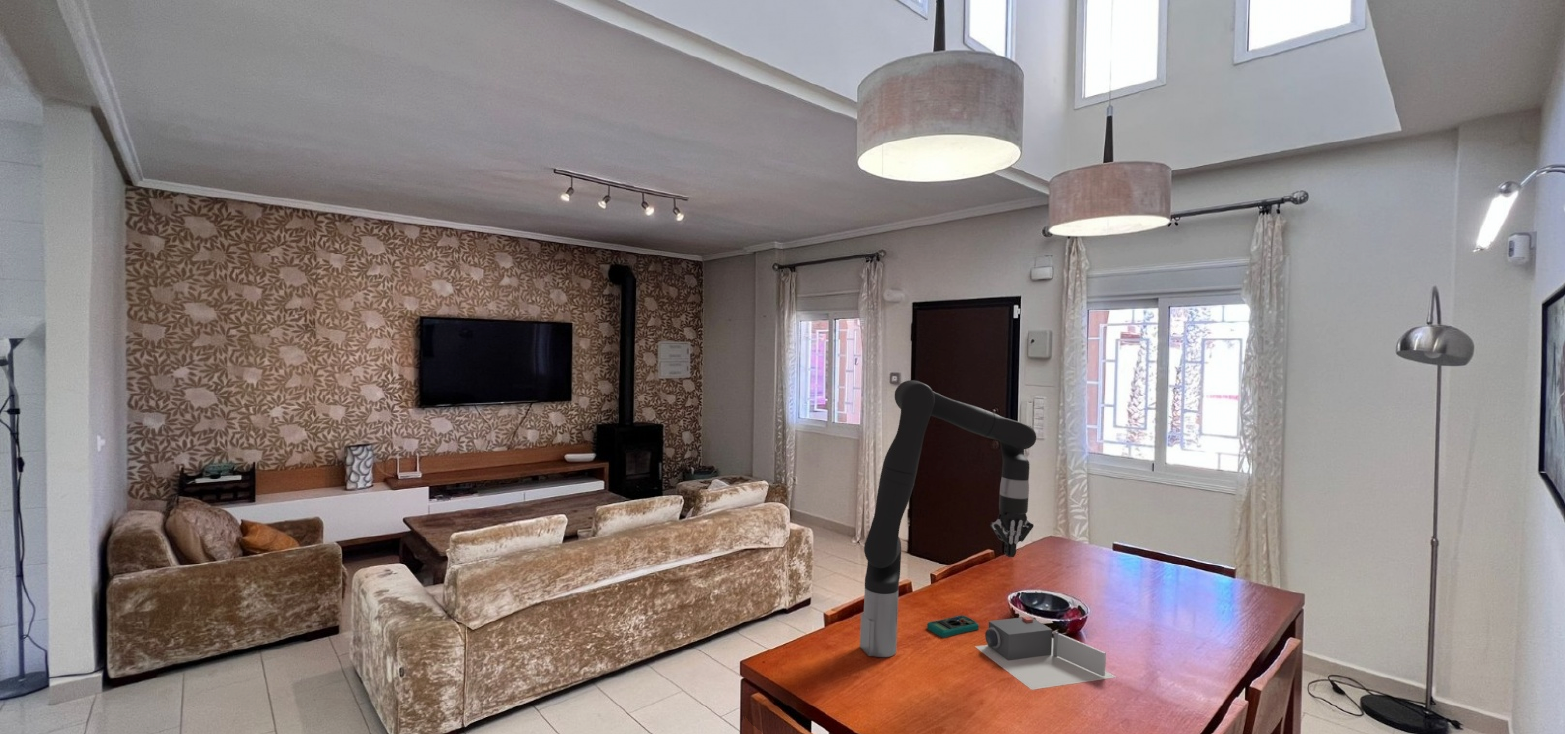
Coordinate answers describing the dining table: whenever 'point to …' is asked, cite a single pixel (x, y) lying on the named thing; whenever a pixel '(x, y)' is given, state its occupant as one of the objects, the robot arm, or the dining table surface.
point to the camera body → (1019, 638)
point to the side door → (1079, 653)
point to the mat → (1043, 670)
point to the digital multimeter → (952, 626)
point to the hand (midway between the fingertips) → (1009, 556)
